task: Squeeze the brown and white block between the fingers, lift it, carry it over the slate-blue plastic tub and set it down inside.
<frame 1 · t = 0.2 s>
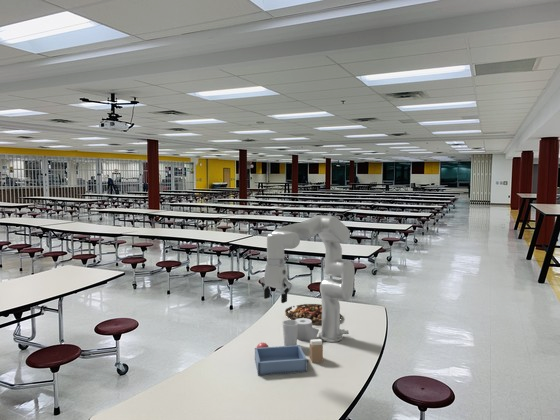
hand: (275, 300, 171), 31 cm above the table, tool pointing down, fingers open, 9 cm apart
food dish: (313, 317, 239), on the table
toilet tissue: (305, 337, 207), on the table, touching arm
tub: (279, 365, 175), on the table
brown and white block: (316, 359, 181), on the table
cup: (290, 346, 196), on the table
red glossy sphere: (262, 355, 185), on the table
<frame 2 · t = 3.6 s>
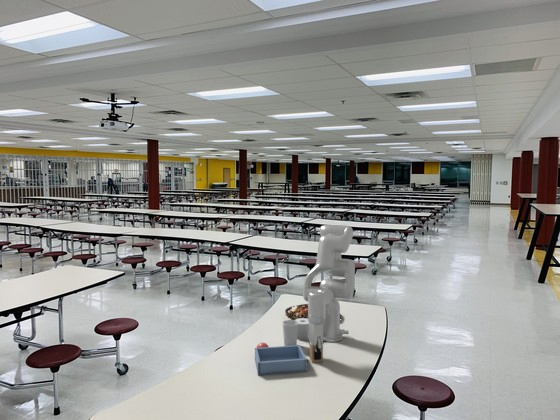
hand: (316, 356, 181), 2 cm above the table, tool pointing down, fingers closed on brown and white block, 5 cm apart
brown and white block: (316, 359, 181), on the table, touching gripper
everything else where it was.
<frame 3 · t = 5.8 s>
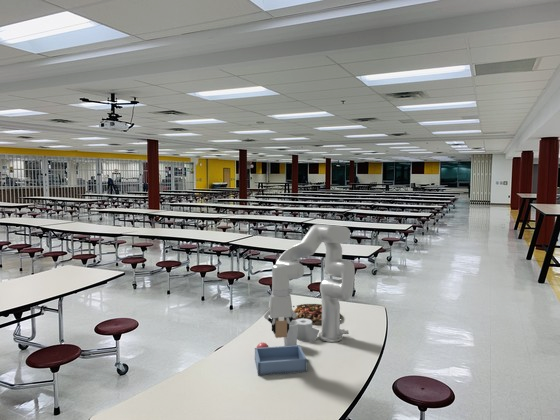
hand: (280, 331, 174), 16 cm above the table, tool pointing down, fingers closed on brown and white block, 5 cm apart
toilet tissue: (305, 338, 206), on the table
brown and white block: (280, 335, 174), point 14 cm above the table, touching gripper
everything else where it was.
when the fingers open (4 cm above the table, at t = 8.3 s): brown and white block drops 1 cm, resting on tub.
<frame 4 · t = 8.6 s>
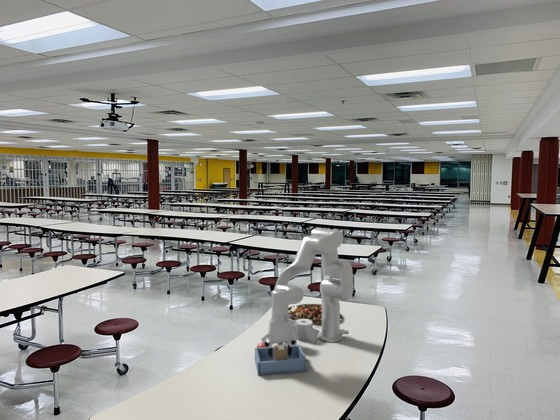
hand: (279, 355, 175), 5 cm above the table, tool pointing down, fingers open, 8 cm apart
brown and white block: (280, 363, 175), point 1 cm above the table, touching tub
everything else where it was.
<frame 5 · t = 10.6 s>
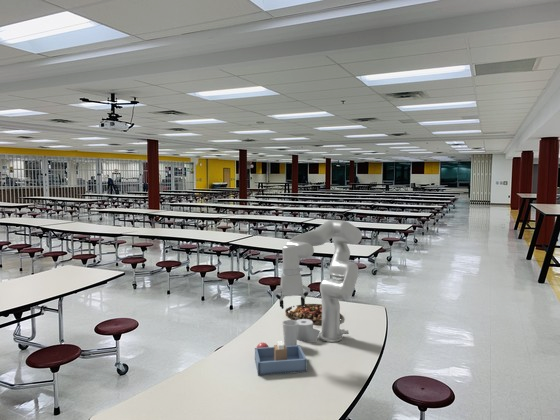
hand: (292, 307, 182), 24 cm above the table, tool pointing down, fingers open, 9 cm apart
nothing on the table moved.
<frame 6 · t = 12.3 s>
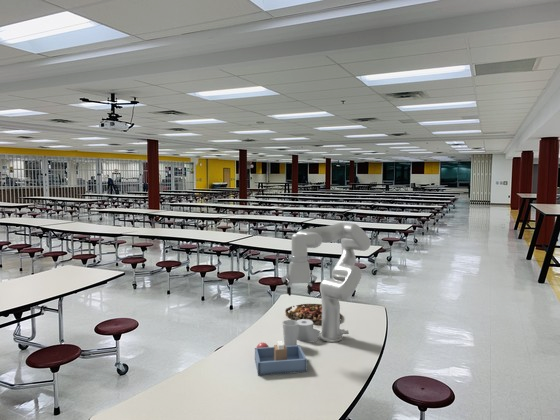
hand: (299, 294, 188), 28 cm above the table, tool pointing down, fingers open, 9 cm apart
at the end: brown and white block inside the target area on the tub (0.2 cm from its centre), point 1.0 cm above the tub's base; the gripper is holding nothing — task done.
